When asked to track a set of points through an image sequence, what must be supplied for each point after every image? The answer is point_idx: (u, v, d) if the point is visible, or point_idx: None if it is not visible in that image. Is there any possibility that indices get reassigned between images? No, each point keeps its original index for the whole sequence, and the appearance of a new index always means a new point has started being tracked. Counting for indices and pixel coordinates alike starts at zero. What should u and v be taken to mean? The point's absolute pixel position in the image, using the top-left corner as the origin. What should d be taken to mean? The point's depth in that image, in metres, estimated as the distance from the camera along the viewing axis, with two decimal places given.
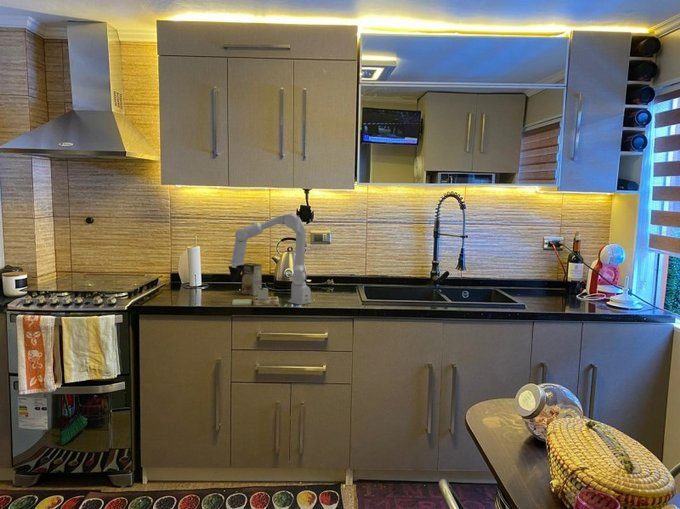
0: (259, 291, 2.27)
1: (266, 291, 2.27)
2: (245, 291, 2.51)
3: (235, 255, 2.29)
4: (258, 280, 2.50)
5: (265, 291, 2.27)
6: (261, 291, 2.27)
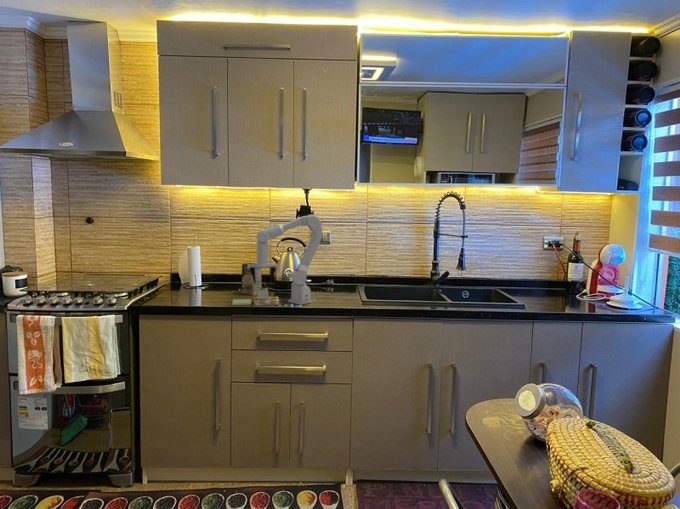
0: (259, 291, 2.27)
1: (266, 291, 2.27)
2: (245, 291, 2.51)
3: (268, 257, 2.27)
4: (258, 280, 2.50)
5: (265, 291, 2.27)
6: (261, 291, 2.27)
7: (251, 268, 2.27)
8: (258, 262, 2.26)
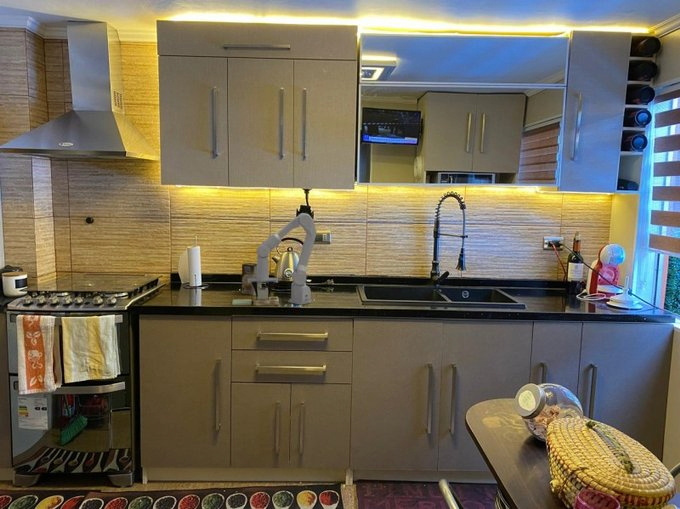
0: (259, 291, 2.27)
1: (266, 291, 2.27)
2: (245, 291, 2.51)
3: (268, 272, 2.28)
4: None
5: (265, 291, 2.27)
6: (261, 291, 2.27)
7: (251, 282, 2.27)
8: (258, 276, 2.27)
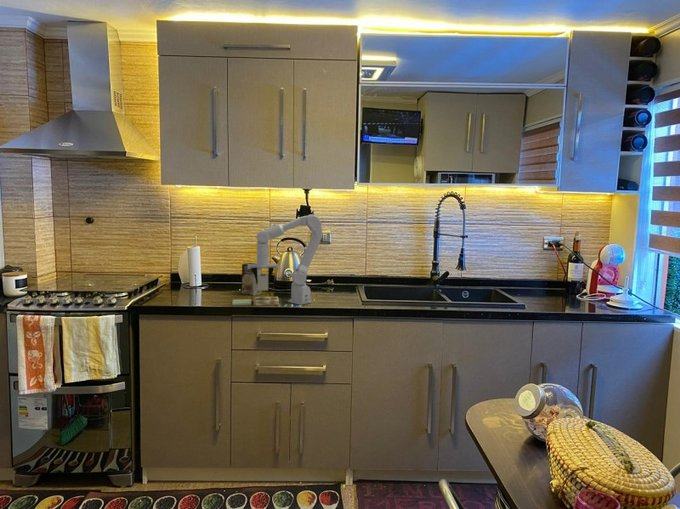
0: (259, 277, 2.26)
1: (266, 277, 2.27)
2: (245, 291, 2.51)
3: (268, 258, 2.27)
4: None
5: (265, 277, 2.27)
6: (261, 277, 2.26)
7: (251, 268, 2.27)
8: (258, 262, 2.26)
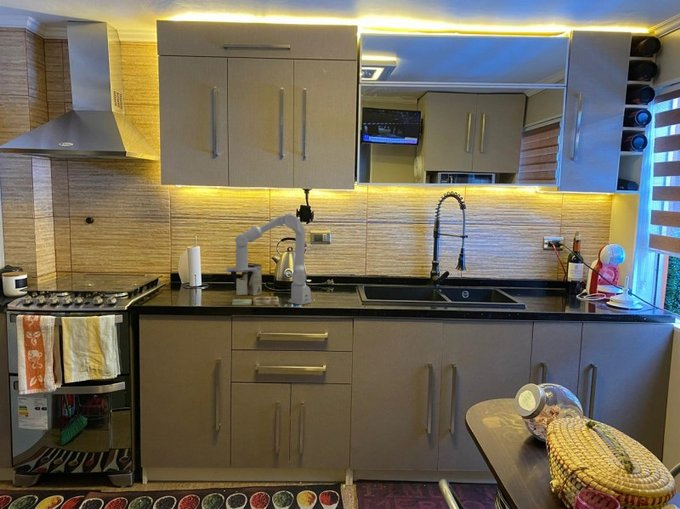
0: (238, 281, 2.25)
1: (245, 281, 2.26)
2: None
3: (247, 261, 2.27)
4: (258, 280, 2.50)
5: (244, 281, 2.26)
6: (240, 281, 2.26)
7: None
8: (237, 266, 2.25)
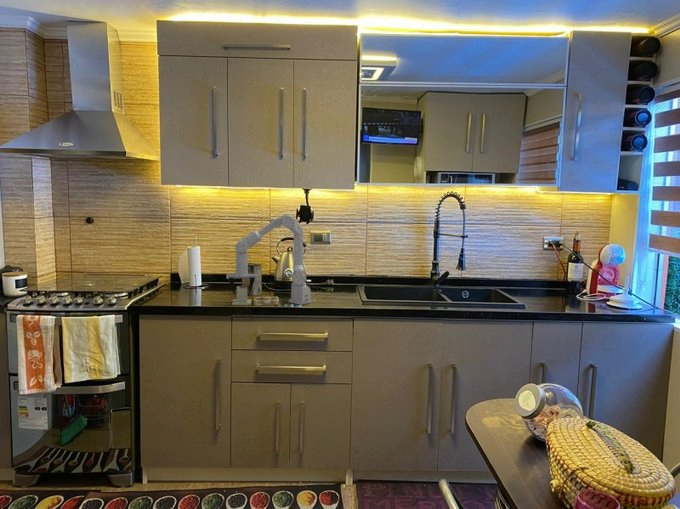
0: (238, 289, 2.26)
1: (245, 289, 2.27)
2: None
3: (247, 267, 2.27)
4: (258, 280, 2.50)
5: (244, 289, 2.26)
6: (240, 289, 2.26)
7: (230, 278, 2.26)
8: (237, 272, 2.25)
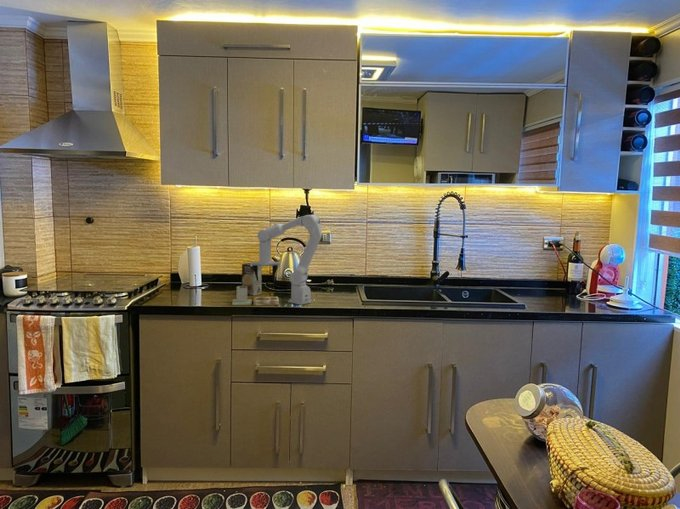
0: (238, 289, 2.26)
1: (245, 289, 2.27)
2: None
3: (270, 255, 2.35)
4: (258, 280, 2.50)
5: (244, 289, 2.26)
6: (240, 289, 2.26)
7: (254, 266, 2.34)
8: (260, 260, 2.33)
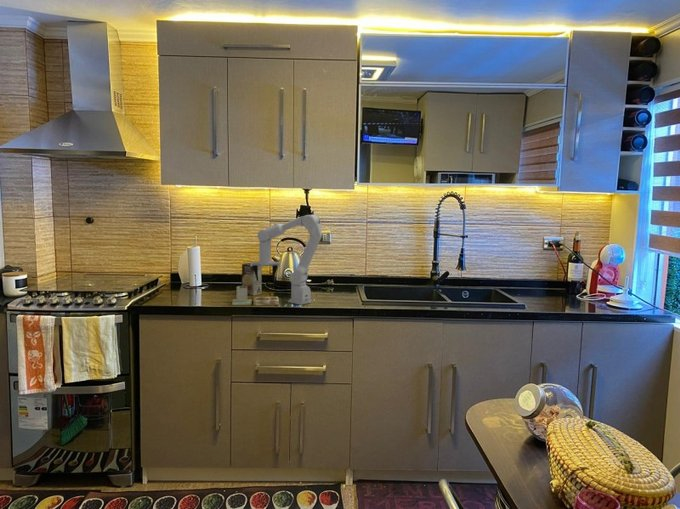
0: (238, 289, 2.26)
1: (245, 289, 2.27)
2: None
3: (270, 255, 2.35)
4: (258, 280, 2.50)
5: (244, 289, 2.26)
6: (240, 289, 2.26)
7: (254, 266, 2.34)
8: (260, 260, 2.33)
